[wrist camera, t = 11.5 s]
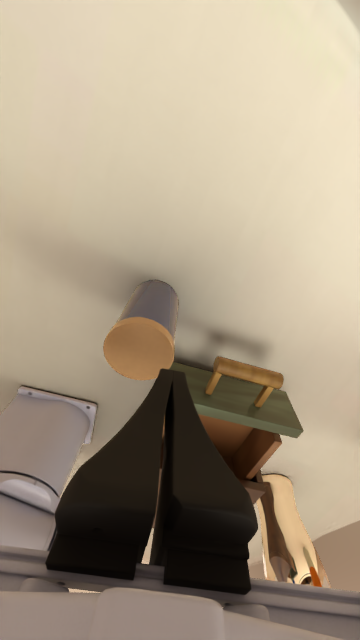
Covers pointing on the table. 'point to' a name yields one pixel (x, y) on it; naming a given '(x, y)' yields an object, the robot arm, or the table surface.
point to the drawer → (241, 412)
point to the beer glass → (286, 537)
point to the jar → (144, 332)
